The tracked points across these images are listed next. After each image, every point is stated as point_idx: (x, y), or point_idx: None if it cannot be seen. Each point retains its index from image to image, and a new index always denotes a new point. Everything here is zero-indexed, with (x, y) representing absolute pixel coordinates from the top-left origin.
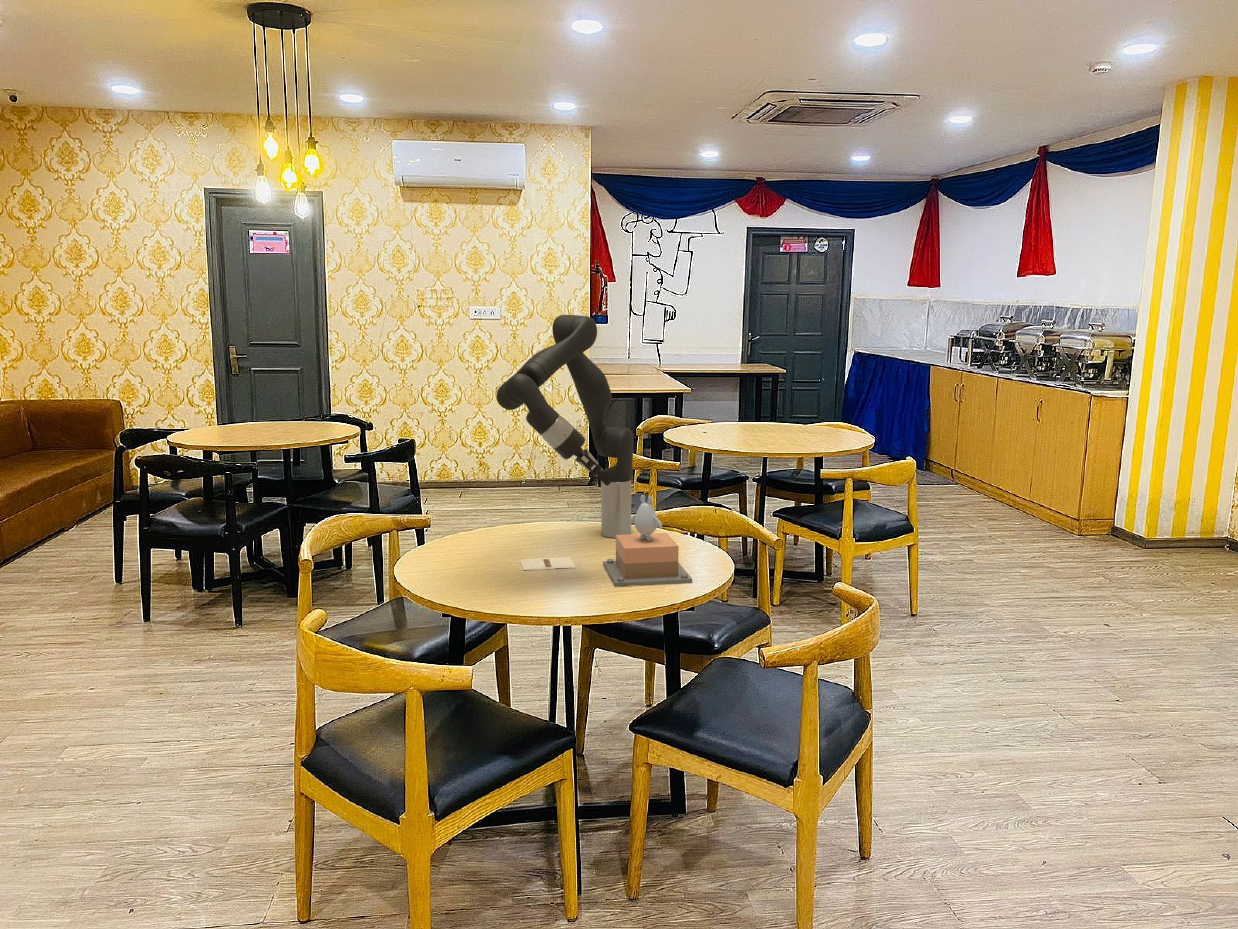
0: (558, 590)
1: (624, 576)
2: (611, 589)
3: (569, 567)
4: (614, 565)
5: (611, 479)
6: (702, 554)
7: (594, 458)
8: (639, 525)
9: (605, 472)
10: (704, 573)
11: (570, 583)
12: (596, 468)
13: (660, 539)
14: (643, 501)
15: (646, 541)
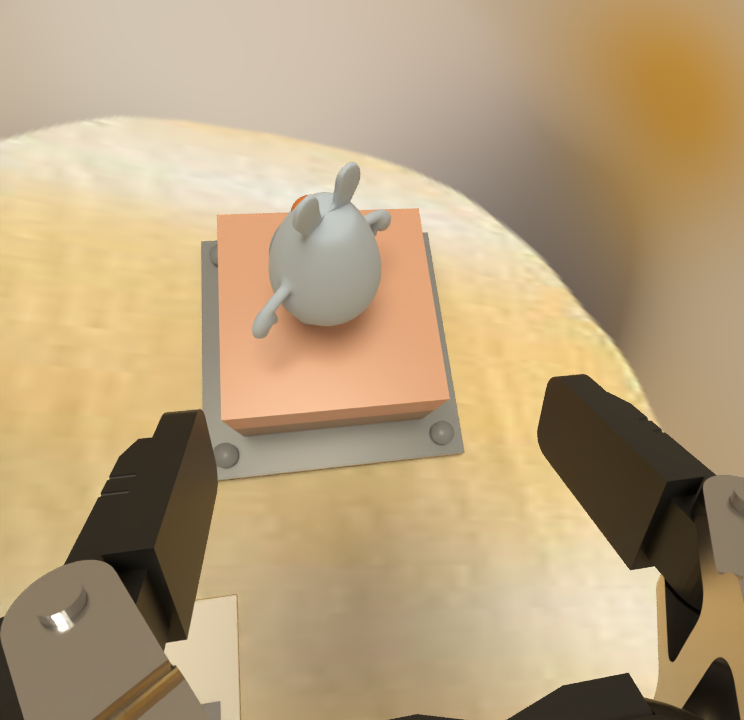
0: (497, 652)
1: (417, 418)
2: (484, 466)
3: (236, 618)
4: (265, 442)
5: (588, 382)
6: (140, 160)
7: (179, 674)
8: (367, 305)
9: (197, 427)
10: None
11: (420, 608)
12: (178, 567)
13: None
14: (318, 220)
15: None
